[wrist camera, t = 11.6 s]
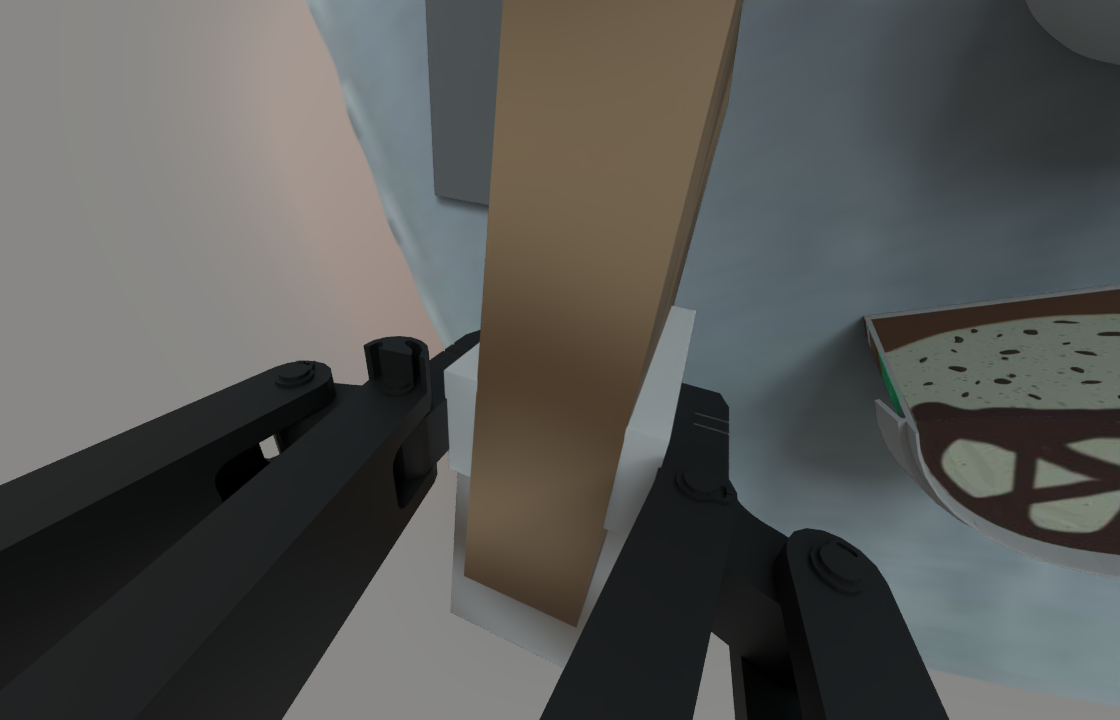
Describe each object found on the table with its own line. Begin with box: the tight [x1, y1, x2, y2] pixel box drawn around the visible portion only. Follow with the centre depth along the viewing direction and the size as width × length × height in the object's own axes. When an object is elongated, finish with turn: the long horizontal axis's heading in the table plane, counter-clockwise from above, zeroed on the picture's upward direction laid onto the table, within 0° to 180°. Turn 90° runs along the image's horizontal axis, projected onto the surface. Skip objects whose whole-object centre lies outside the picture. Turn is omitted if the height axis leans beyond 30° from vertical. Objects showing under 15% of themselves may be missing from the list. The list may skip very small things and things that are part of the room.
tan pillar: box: [450, 0, 743, 668], centre depth 12 cm, size 20×8×8 cm, turn 174°
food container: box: [864, 284, 1120, 578], centre depth 15 cm, size 12×6×10 cm, turn 107°
